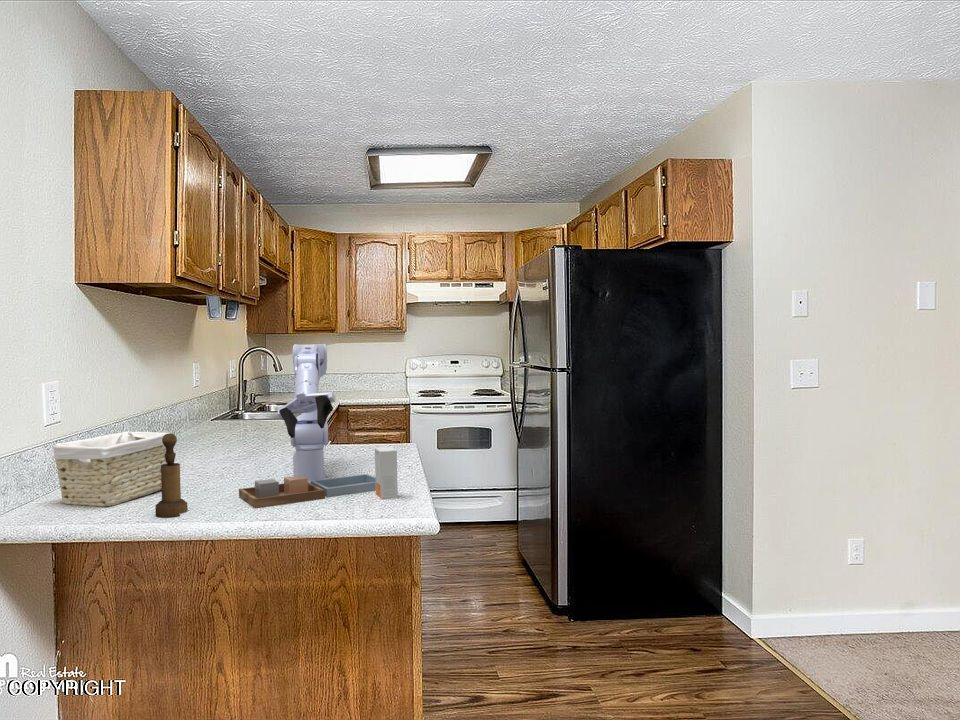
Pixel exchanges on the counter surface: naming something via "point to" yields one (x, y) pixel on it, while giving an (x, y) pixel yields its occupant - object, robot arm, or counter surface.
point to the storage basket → (110, 468)
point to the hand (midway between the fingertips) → (305, 430)
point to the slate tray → (346, 485)
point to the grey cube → (266, 488)
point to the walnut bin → (281, 496)
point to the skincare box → (386, 472)
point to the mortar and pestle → (170, 483)
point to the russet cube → (295, 484)
